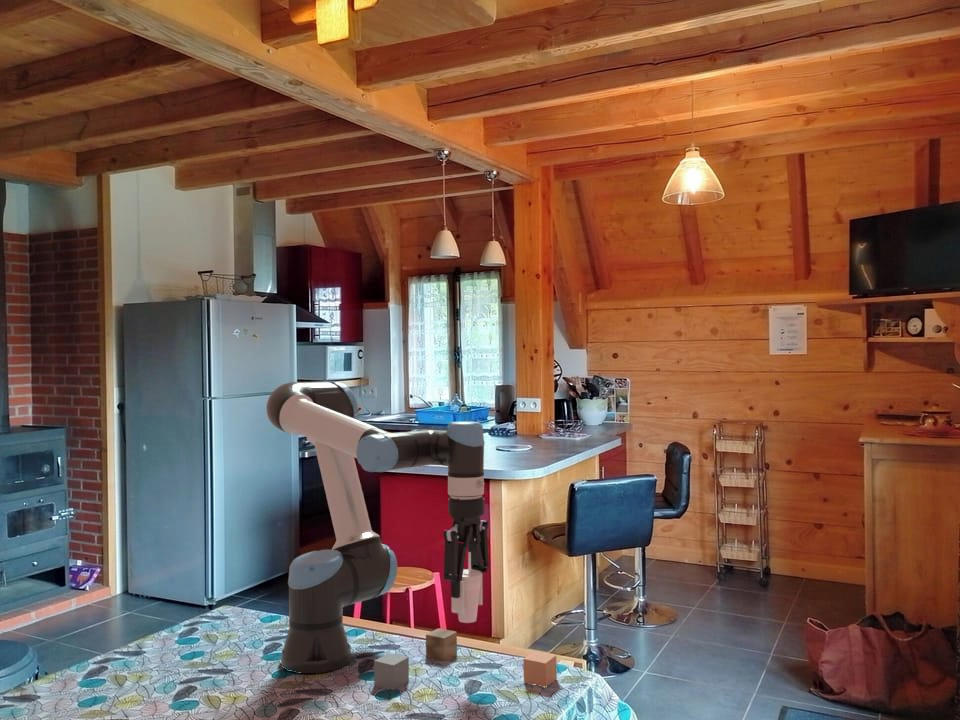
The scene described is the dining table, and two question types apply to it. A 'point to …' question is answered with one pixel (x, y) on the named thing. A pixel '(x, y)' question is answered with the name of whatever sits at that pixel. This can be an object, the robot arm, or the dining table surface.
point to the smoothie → (470, 593)
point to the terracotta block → (540, 668)
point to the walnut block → (441, 644)
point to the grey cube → (391, 671)
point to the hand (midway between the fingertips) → (467, 608)
